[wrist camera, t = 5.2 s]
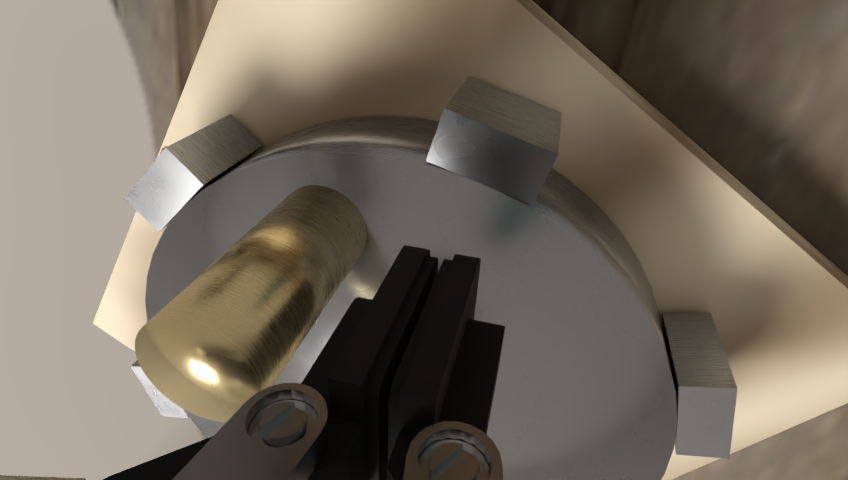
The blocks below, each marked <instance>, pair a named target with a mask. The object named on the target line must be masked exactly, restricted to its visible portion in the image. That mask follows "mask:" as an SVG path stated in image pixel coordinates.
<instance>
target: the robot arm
mask: <svg viewBox="0 0 848 480" xmlns="http://www.w3.org/2000/svg"><path fill="white" fill-rule="evenodd" d="M480 264H481V259H480V258H476V257H471V256H465V255H459V254H455V255H454V257H453V260H449V259H444V260H443V262H442V264H441V267H440V269H439V272H438V258H437V257H431V256H430V250H429V249H424V248H418V247H413V246H407V245H404V246H403V247H402V249H401V251H400V252H399V254H398V256H397V258H396V259H395V261H394V263H393V264H392V266H391V268H390V270H389V271H388V273H387V275H386V277H385V278H384V280H383V282H382V284H381V285H380V287H379V289H378V291H377V292H376V294H375V296H374V298H373V299H372V300H371V299H366V298H361V297H357V298H355V299H354V301H353V302H352V303H351V305H350V306H349V308H348V310H347V311H346V313H345V314H344V316H343V318H342V319H341V321H340V322H339V324H338V326H337V327H336V329H335V330H334V332H333V334H332V335H331V337H330V338H329V340H328V342H327V343H326V345H325V346H324V348H323V349H322V351H321V353H320V354H319V356H318V357H317V359H316V361H315V362H314V364H313V365H312V367H311V369H310V370H309V372H308V373H307V375H306V377H305V378H304V380H303V381H302V383H301V384H299V383H281V384H277V385H273V386H269V387H267V388H265V389H263V390H261V391H259V392H257V393H256V394H255V395H253V396H252V397H251V398H250V399H249V400H247V401H246V402H245V403H244V404H243V405H242V406H241V407H240V409H239V410H238V411H237V412H236V413H235V414H234V415H233V416H232V417H231V418H230V419H229V420H228V421H227V422H226V423H225V424H224V425H223V427H222V428H221V429H220V430H219V431H218V432H217V433H216V434H215V435H214V436H212V437H210V438H207V439H205V440H202V441H200V442H197V443H194V444H192V445H189V446H187V447H184V448H182V449H179V450H176V451H174V452H171V453H168V454H166V455H163V456H161V457H158V458H156V459H153V460H150V461H148V462H145V463H143V464H140V465H138V466H135V467H132V468H130V469H127V470H124V471H122V472H120V473H117V474H114V475H112V476H109V477H107V478H105V479H103V480H503V465H502V460H501V456H500V452H499V450H498V449H497V447H496V445H495V443H494V442H493V440H491V439H490V438H489V437H488V436H487V430H488V424H489V419H490V413H491V408H492V402H493V397H494V391H495V386H496V380H497V374H498V369H499V363H500V357H501V351H502V344H503V338H504V332H505V326H503V325H498V324H493V323H488V322H483V321H478V320H474V315H475V306H476V298H477V290H478V281H479V273H480ZM0 480H85V479H83V478H55V477H29V476H28V477H27V476H1V475H0Z"/></svg>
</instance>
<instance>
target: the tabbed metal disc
mask: <svg viewBox="0 0 848 480" xmlns="http://www.w3.org/2000/svg"><path fill="white" fill-rule="evenodd" d="M561 117H562V113H561V112H558V111H556V110H553V109H551V108H548V107H546V106H543V105H541V104H538V103H536V102H533V101H531V100H528V99H526V98H523V97H521V96H518V95H516V94H513V93H511V92H508V91H506V90H504V89H501V88H499V87H496V86H494V85H491V84H489V83H486V82H484V81H481V80H479V79H476V78H474V77H471V76H469V77H468V78H467V79H466V80H465V82H464V83H463V84H462V86H461V87H460V88H459V90H458V91H457V92H456V93H455V95H454V96H453V97H452V99H451V100H450V101H449V103H448V104H447V105H446V107H445V108H444V110H443V113H442V116H441V119H440V122H438V121H433V120H428V119H423V118H415V117H400V116H385V115H379V116H365V117H351V118H343V119H339V120H334V121H330V122H325V123H320V124H316V125H312V126H310V127H307V128H305V129H302V130H299V131H297V132H294V133H292V134H289V135H287V136H284V137H283V138H281V139H279V140H278V141H276V142H274V143H272V144H271V145H269V146H267V147H266V148H264V149H262V150H261V151H259V152H258V153H256V154H255V155H253V154H254V153H255V152H256V151H257V150H258V149H259V148H260V147H261V145H260V143H259V142H258V141H257V140H256V139H255V138H254V137H253V136H252V135H251V134H250V133H249V132H248V131H247V130H246V129H245V128H244V127H243V125H242V124H241V123H240V122H239V121H238V120H237V119H236V118H235V117H234V116H233V115H232V114H229V115H228V116H226V117H224V118H222V119H220V120H218V121H216V122H214V123H212V124H210V125H208V126H206V127H204V128H202V129H200V130H198V131H197V132H195V133H193V134H191V135H189V136H187V137H185V138H183V139H181V140H179V141H177V142H175V143H173V144H171V145H169V146H167V147H166V148H165V149H164V150H163V151H162V153H161V154H160V155H159V156H158V158H157V159H156V160H155V161H154V163H153V164H152V165H151V166H150V168H149V169H148V170H147V172H146V173H145V174H144V175H143V176H142V178H141V179H140V180H139V181H138V183H137V184H136V185H135V186H134V187H133V189H132V190H131V191H130V192H129V194H128V195H127V196H126V197H125V201H127V202H128V203H129V204H130V205H131V206H132V207H133V208H134V209H135V210H136V211H137V212H138V213H139V214H140V215H141V216H143V217H144V218H145V219H146V220H147V221H148V222H149V223H150V224H151V225H152V226H153V227H154V228H155V229H156V230H157V231H159V232H160V231H161V230H163V229H164V228H166V229H165V230H164V232H163V234H162V236H161V238H160V240H159V242H158V244H157V246H156V248H155V250H154V252H153V255H152V259H151V263H150V267H149V271H148V275H147V283H146V297H145V304H146V315H147V323H146V324H145V325H144V326H143V327H142V328H141V329H140V330H139V332H138V334H137V335H136V339H135V352H136V356H137V359H138V360H137V361H136V362H135V363H134V364H133V365H132V366H131V368H132V369H133V371H134V372H135V374H136V376H137V377H138V379H139V380H140V382H141V384H142V385H143V387H144V388H145V390H146V392H147V393H148V395H149V396H150V398H151V399H152V401H153V403H154V404H155V406H156V407H157V409H158V411H159V412H160V414H161V415H162V416H170V417H183V418H188V417H190V418H191V419H192V421H193V422H194V423H195V424H196V426H197V427H198V428H199V429H200V431H201V432H202V433H203V434H204V435H205V436H206V437H207V438H210V437H212V436H214V435H215V434H216V433H217V432H218V431H219V430H220V429H221V428H222V427H223V425H224V424H225V423H226V422H227V421H228V420H229V419H230V418H231V417H232V416H233V415H234V414H235V413H236V412H237V411H238V410H239V409H240V407H241V406H242V405H243V404H244V403H245V402H246V401H247V400H249V399H250V398H251V397H252V396H253V395H255V394H256V393H257V392H259V391H261V390H263V389H265V388H267V387H269V386H273V385H277V384H281V383H299V384H301V383H302V381H303V380H304V378H305V377H306V375H307V373H308V372H309V370H310V369H311V367H312V365H313V364H314V362H315V361H316V359H317V357H318V356H319V354H320V353H321V351H322V349H323V348H324V346H325V345H326V343H327V342H328V340H329V338H330V337H331V335H332V334H333V332H334V330H335V329H336V327H337V326H338V324H339V322H340V321H341V319H342V318H343V316H344V314H345V313H346V311H347V310H348V308H349V306H350V305H351V303H352V302H353V301H354V299H355V298H357V297H361V298H366V299H371V300H372V299H373V298H374V296H375V294H376V292H377V291H378V289H379V287H380V285H381V284H382V282H383V280H384V278H385V277H386V275H387V273H388V271H389V270H390V268H391V266H392V264H393V263H394V261H395V259H396V258H397V256H398V254H399V252H400V251H401V249H402V247H403V246H404V245H407V246H413V247H418V248H424V249H429V250H430V256H431V257H437V258H438V272H439V269H440V267H441V264H442V262H443V260H444V259H449V260H453V257H454V255H455V254H459V255H465V256H471V257H476V258H480V259H481V264H480V273H479V281H478V290H477V298H476V306H475V315H474V320H478V321H483V322H488V323H493V324H498V325H503V326H505V332H504V338H503V344H502V351H501V357H500V363H499V369H498V374H497V380H496V386H495V391H494V397H493V402H492V408H491V413H490V419H489V424H488V430H487V436H488V437H489V438H490V439H491V440H493V442H494V443H495V445H496V447H497V449H498V450H499V452H500V456H501V460H502V465H503V480H661V479H662V477H663V476H664V474H665V471H666V469H667V466H668V463H669V461H670V458H671V455H672V452H673V450H674V446H675V451H676V455H687V456H700V457H713V458H727V459H729V458H730V450H731V441H732V432H733V424H734V415H735V406H736V398H737V389H738V388H737V386H736V383H735V380H734V377H733V374H732V371H731V369H730V366H729V363H728V360H727V357H726V355H725V352H724V349H723V346H722V343H721V340H720V338H719V335H718V332H717V329H716V326H715V324H714V321H713V318H712V315H711V313H662V326H661V322H660V317H659V313H658V309H657V306H656V302H655V298H654V294H653V290H652V287H651V285H650V283H649V281H648V278H647V276H646V274H645V272H644V270H643V267H642V265H641V263H640V261H639V259H638V257H637V256H636V254H635V253H634V251H633V250H632V248H631V246H630V245H629V243H628V242H627V240H626V239H625V237H624V236H623V234H622V233H621V231H620V230H619V229H618V228H617V226H616V225H615V224H614V223H613V222H612V221H611V220H610V219H609V217H608V216H607V215H606V214H605V213H604V212H603V211H602V210H601V208H600V207H599V206H598V205H597V204H596V203H595V202H594V201H593V200H592V199H591V198H589V197H588V196H587V195H586V194H585V193H584V192H582V191H581V190H580V189H579V188H578V187H577V186H575V185H574V184H573V183H572V182H571V181H570V180H568V179H567V178H566V177H564V176H563V175H561V174H560V173H558V172H557V171H555V170H554V169H552V166H553V164H554V162H555V160H556V158H557V156H558V152H559V140H560V128H561ZM252 155H253V156H252ZM251 156H252V157H251Z"/></svg>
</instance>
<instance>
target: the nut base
mask: <svg viewBox="0 0 848 480" xmlns="http://www.w3.org/2000/svg"><path fill="white" fill-rule="evenodd" d="M469 76H471V77H474V78H476V79H479V80H481V81H484V82H486V83H489V84H491V85H494V86H496V87H499V88H501V89H504V90H506V91H508V92H511V93H513V94H516V95H518V96H521V97H523V98H526V99H528V100H531V101H533V102H536V103H538V104H541V105H543V106H546V107H548V108H551V109H553V110H556V111H558V112H561V113H562V117H561V128H560V140H559V152H558V156H557V158H556V160H555V162H554V164H553V166H552V169H554V170H555V171H557V172H558V173H560V174H561V175H563V176H564V177H566V178H567V179H568V180H570V181H571V182H572V183H573V184H574V185H575V186H577V187H578V188H579V189H580V190H581V191H582V192H584V193H585V194H586V195H587V196H588V197H589V198H591V199H592V200H593V201H594V202H595V203H596V204H597V205H598V206H599V207H600V208H601V210H602V211H603V212H604V213H605V214H606V215H607V216H608V217H609V219H610V220H611V221H612V222H613V223H614V224H615V225H616V226H617V228H618V229H619V230H620V231H621V233H622V234H623V236H624V237H625V239H626V240H627V242H628V243H629V245H630V246H631V248H632V250H633V251H634V253H635V254H636V256H637V257H638V259H639V261H640V263H641V265H642V267H643V270H644V272H645V274H646V276H647V278H648V281H649V283H650V285H651V287H652V290H653V294H654V298H655V302H656V306H657V309H658V313H659V317H660V322H661V326H662V313H711V315H712V318H713V321H714V324H715V326H716V329H717V332H718V335H719V338H720V340H721V343H722V346H723V349H724V352H725V355H726V357H727V360H728V363H729V366H730V369H731V371H732V374H733V377H734V380H735V383H736V386H737V388H738V389H737V398H736V406H735V415H734V424H733V432H732V441H731V450H730V454H731V453H734V452H736V451H738V450H740V449H743V448H745V447H747V446H750V445H752V444H754V443H757V442H759V441H761V440H763V439H766V438H768V437H770V436H773V435H775V434H777V433H780V432H782V431H784V430H786V429H789V428H791V427H793V426H796V425H798V424H800V423H803V422H805V421H807V420H809V419H812V418H814V417H816V416H819V415H821V414H823V413H826V412H828V411H830V410H832V409H835V408H837V407H839V406H842V405H844V404H846V403H848V276H847V275H846V274H845V273H843V272H842V271H841V270H840V269H839V268H838V267H837V266H835V265H834V264H833V263H832V262H831V261H830V260H829V259H827V258H826V257H825V256H824V255H823V254H822V253H821V252H819V251H818V250H817V249H816V248H815V247H814V246H813V245H811V244H810V243H809V242H808V241H807V240H806V239H805V238H803V237H802V236H801V235H800V234H799V233H798V232H797V231H795V230H794V229H793V228H792V227H791V226H790V225H789V224H787V223H786V222H785V221H784V220H783V219H782V218H781V217H779V216H778V215H777V214H776V213H775V212H774V211H773V210H771V209H770V208H769V207H768V206H767V205H766V204H765V203H763V202H762V201H761V200H760V199H759V198H758V197H757V196H755V195H754V194H753V193H752V192H751V191H750V190H748V189H747V188H746V187H745V186H744V185H743V184H742V183H740V182H739V181H738V180H737V179H736V178H735V177H734V176H732V175H731V174H730V173H729V172H728V171H727V170H726V169H724V168H723V167H722V166H721V165H720V164H719V163H718V162H716V161H715V160H714V159H713V158H712V157H711V156H710V155H708V154H707V153H706V152H705V151H704V150H703V149H702V148H700V147H699V146H698V145H697V144H696V143H695V142H694V141H692V140H691V139H690V138H689V137H688V136H687V135H686V134H684V133H683V132H682V131H681V130H680V129H679V128H678V127H676V126H675V125H674V124H673V123H672V122H671V121H670V120H668V119H667V118H666V117H665V116H664V115H663V114H662V113H660V112H659V111H658V110H657V109H656V108H655V107H654V106H652V105H651V104H650V103H649V102H648V101H647V100H646V99H644V98H643V97H642V96H641V95H640V94H639V93H638V92H636V91H635V90H634V89H633V88H632V87H631V86H630V85H628V84H627V83H626V82H625V81H624V80H623V79H622V78H620V77H619V76H618V75H617V74H616V73H615V72H614V71H612V70H611V69H610V68H609V67H608V66H607V65H606V64H604V63H603V62H602V61H601V60H600V59H599V58H598V57H596V56H595V55H594V54H593V53H592V52H591V51H590V50H588V49H587V48H586V47H585V46H584V45H583V44H581V43H580V42H579V41H578V40H577V39H576V38H575V37H573V36H572V35H571V34H570V33H569V32H568V31H567V30H565V29H564V28H563V27H562V26H561V25H560V24H559V23H557V22H556V21H555V20H554V19H553V18H552V17H551V16H549V15H548V14H547V13H546V12H545V11H544V10H543V9H541V8H540V7H539V6H538V5H537V4H536V3H535V2H533V1H532V0H218V2H217V5H216V8H215V10H214V13H213V15H212V18H211V20H210V23H209V26H208V28H207V31H206V33H205V36H204V38H203V41H202V44H201V46H200V49H199V51H198V54H197V57H196V59H195V62H194V64H193V67H192V69H191V72H190V75H189V77H188V80H187V82H186V85H185V87H184V90H183V93H182V95H181V98H180V100H179V103H178V105H177V108H176V111H175V113H174V116H173V118H172V121H171V123H170V126H169V129H168V131H167V134H166V136H165V139H164V141H163V144H162V147H161V149H160V152H159V154H158V156H159V155H160V154H161V153H162V151H163V150H164V149H165V148H166V147H167V146H169V145H171V144H173V143H175V142H177V141H179V140H181V139H183V138H185V137H187V136H189V135H191V134H193V133H195V132H197V131H198V130H200V129H202V128H204V127H206V126H208V125H210V124H212V123H214V122H216V121H218V120H220V119H222V118H224V117H226V116H228V115H229V114H232V115H233V116H234V117H235V118H236V119H237V120H238V121H239V122H240V123H241V124H242V125H243V127H244V128H245V129H246V130H247V131H248V132H249V133H250V134H251V135H252V136H253V137H254V138H255V139H256V140H257V141H258V142H259V143H260V145H261V147H260V148H259V149H258V150H257V151H256V152H255V153H254V154H253V155H255V154H256V153H258V152H259V151H261V150H262V149H264V148H266V147H267V146H269V145H271V144H272V143H274V142H276V141H278V140H279V139H281V138H283V137H284V136H287V135H289V134H292V133H294V132H297V131H299V130H302V129H305V128H307V127H310V126H312V125H316V124H320V123H325V122H330V121H334V120H339V119H343V118H351V117H365V116H379V115H385V116H400V117H415V118H423V119H428V120H433V121H438V122H440V119H441V116H442V113H443V110H444V108H445V107H446V105H447V104H448V103H449V101H450V100H451V99H452V97H453V96H454V95H455V93H456V92H457V91H458V90H459V88H460V87H461V86H462V84H463V83H464V82H465V80H466V79H467V78H468V77H469ZM253 155H252V156H253ZM252 156H251V157H252ZM157 158H158V157H157ZM165 229H166V228H164V229H163V230H161V231H160V232H159V231H157V230H156V229H155V228H154V227H153V226H152V225H151V224H150V223H149V222H148V221H147V220H146V219H145V218H144V217H143V216H141V215H140V214H139V213H138V212H137V211H136V214H135V216H134V219H133V221H132V224H131V226H130V229H129V231H128V234H127V237H126V239H125V242H124V245H123V247H122V249H121V252H120V255H119V257H118V260H117V262H116V265H115V267H114V270H113V273H112V276H111V278H110V281H109V283H108V285H107V288H106V291H105V293H104V296H103V298H102V301H101V303H100V306H99V309H98V311H97V314H96V316H95V319H94V321H93V324H95V325H96V326H98V327H99V328H100V329H102V330H103V331H105V332H106V333H108V334H109V335H111V336H112V337H114V338H116V339H117V340H118V341H120V342H122V343H123V344H124V345H126V346H127V347H129V348H130V349H132V350H133V351H135V339H136V335H137V334H138V332H139V330H140V329H141V328H142V327H143V326H144V325H145V324H146V323H147V315H146V304H145V297H146V283H147V275H148V271H149V267H150V263H151V259H152V255H153V252H154V250H155V248H156V246H157V244H158V242H159V240H160V238H161V236H162V234H163V232H164V230H165ZM717 459H720V458H713V457H700V456H687V455H676V451H675V446H674V450H673V452H672V455H671V458H670V461H669V463H668V466H667V469H666V471H665V474H664V476H663V477H662V479H661V480H671V479H674V478H676V477H678V476H681V475H683V474H685V473H688V472H690V471H692V470H694V469H697V468H699V467H701V466H704V465H706V464H708V463H711V462H713V461H715V460H717Z"/></svg>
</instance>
